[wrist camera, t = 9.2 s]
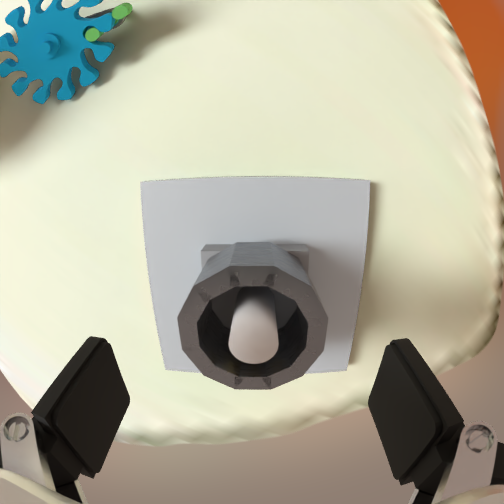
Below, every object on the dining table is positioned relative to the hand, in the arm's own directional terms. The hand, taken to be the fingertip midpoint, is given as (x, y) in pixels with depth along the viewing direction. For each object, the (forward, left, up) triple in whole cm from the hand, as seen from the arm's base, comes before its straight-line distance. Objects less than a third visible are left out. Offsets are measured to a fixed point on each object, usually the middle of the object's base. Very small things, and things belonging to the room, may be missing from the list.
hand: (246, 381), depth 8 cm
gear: (-17, -13, -11) cm, 24 cm away
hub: (+1, 0, -8) cm, 8 cm away
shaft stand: (+1, 0, -10) cm, 10 cm away
